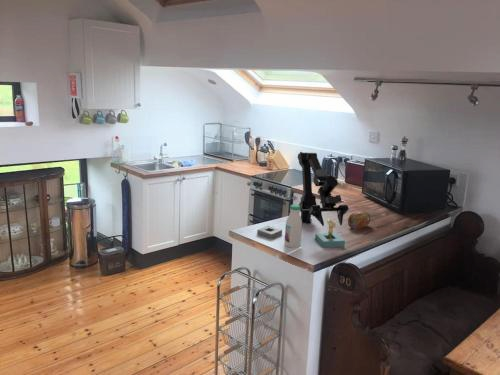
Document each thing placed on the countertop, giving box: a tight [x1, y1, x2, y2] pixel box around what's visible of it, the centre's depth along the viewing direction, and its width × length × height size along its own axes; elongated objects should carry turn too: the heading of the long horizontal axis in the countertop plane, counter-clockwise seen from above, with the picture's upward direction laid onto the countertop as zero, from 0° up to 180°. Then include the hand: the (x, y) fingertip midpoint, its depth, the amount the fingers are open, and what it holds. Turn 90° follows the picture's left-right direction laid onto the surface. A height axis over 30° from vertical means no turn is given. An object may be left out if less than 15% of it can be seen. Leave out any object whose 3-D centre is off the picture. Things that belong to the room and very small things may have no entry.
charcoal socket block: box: [256, 225, 283, 240], centre depth 218 cm, size 9×9×3 cm
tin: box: [347, 211, 371, 230], centre depth 237 cm, size 15×3×8 cm, turn 122°
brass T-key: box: [327, 219, 337, 239], centre depth 211 cm, size 6×2×10 cm, turn 12°
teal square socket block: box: [314, 232, 346, 248], centre depth 212 cm, size 11×11×3 cm
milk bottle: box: [284, 204, 303, 249], centre depth 204 cm, size 8×8×20 cm
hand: (332, 225), depth 208 cm, fingers open, 9 cm apart
